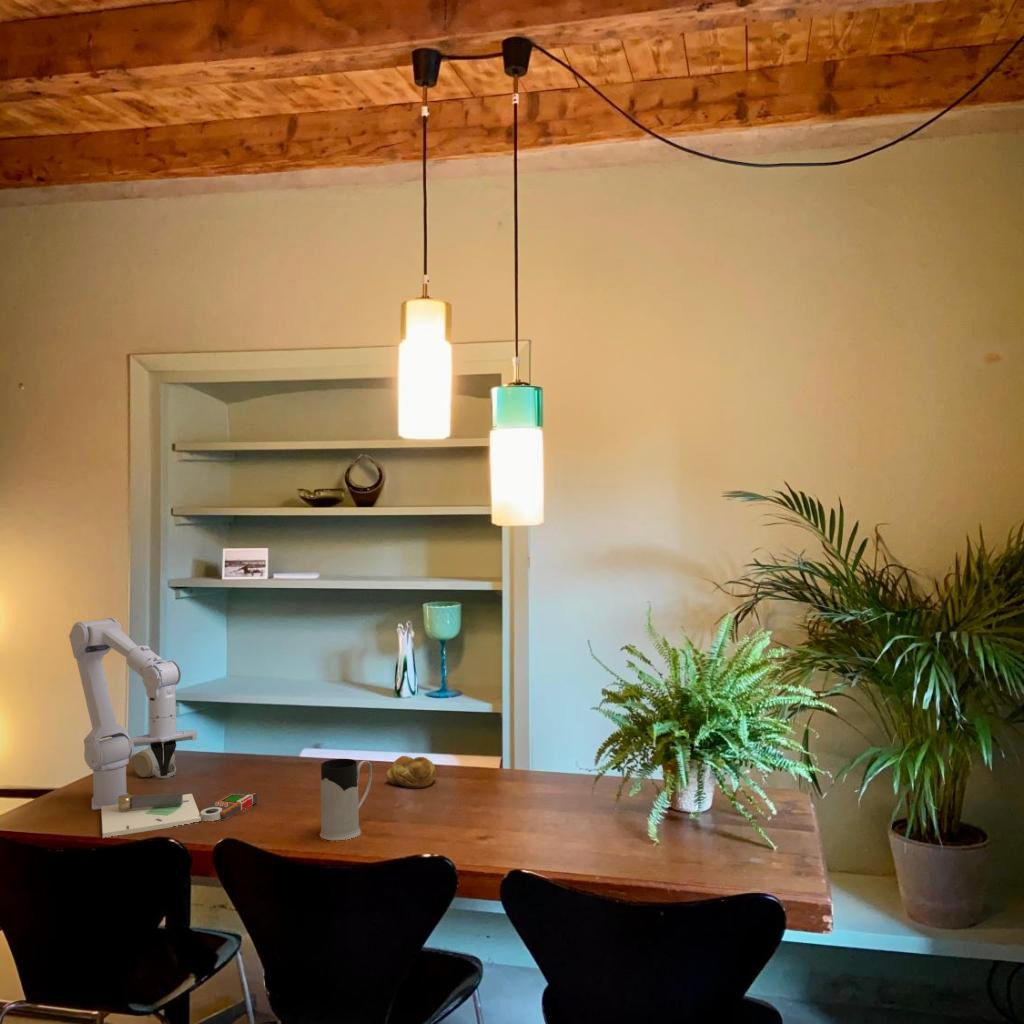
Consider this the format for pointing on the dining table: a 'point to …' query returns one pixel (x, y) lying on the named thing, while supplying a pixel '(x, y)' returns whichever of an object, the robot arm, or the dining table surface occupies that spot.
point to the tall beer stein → (341, 798)
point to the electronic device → (228, 805)
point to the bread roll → (412, 772)
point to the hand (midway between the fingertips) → (163, 774)
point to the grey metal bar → (149, 800)
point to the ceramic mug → (151, 764)
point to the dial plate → (148, 817)
